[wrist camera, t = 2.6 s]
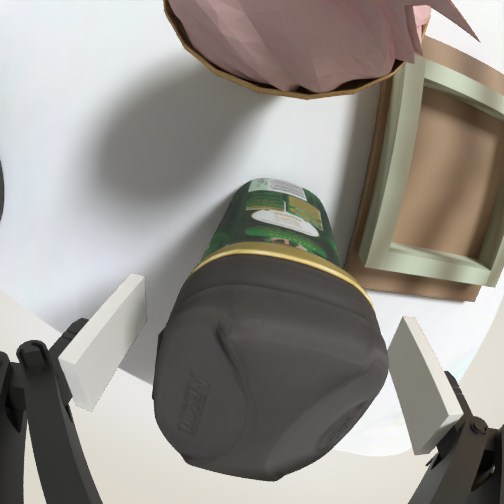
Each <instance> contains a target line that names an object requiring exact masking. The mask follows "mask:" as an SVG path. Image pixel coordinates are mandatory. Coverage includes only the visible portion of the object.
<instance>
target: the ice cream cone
mask: <svg viewBox="0 0 504 504" xmlns="http://www.w3.org/2000/svg"><path fill="white" fill-rule="evenodd" d="M163 1H164V12H165V14H166V16H167V18H168V20H169V22H170V23H171V25H172V27H173V29H174V30H175V32H176V34H177V36H178V38H179V39H180V41H181V43H182V45H183V47H184V48H185V49H186V50H187V51H188V52H190V53H191V54H192V55H193V56H194V57H196V58H197V59H198V60H199V61H200V62H202V63H203V64H204V65H205V66H206V67H208V68H209V69H210V70H211V71H212V72H214V73H215V74H216V75H218V76H220V77H223V78H225V79H228V80H230V81H233V82H235V83H238V84H240V85H242V86H245V87H247V88H249V89H252V90H254V91H256V92H258V93H264V94H272V95H279V96H286V97H293V98H299V99H305V100H309V99H316V98H323V97H331V96H340V95H349V94H354V93H356V92H358V91H361V90H363V89H365V88H367V87H369V86H371V85H374V84H376V83H378V82H380V81H382V80H385V79H387V78H389V77H391V76H392V75H393V74H394V73H395V72H396V71H397V70H398V69H399V68H400V67H401V66H402V65H403V64H404V63H405V62H408V63H411V64H414V62H415V54H414V53H417V54H419V55H421V56H422V57H423V50H422V46H421V43H422V40H423V37H424V34H425V32H426V29H427V26H428V23H429V20H430V13H431V8H433V9H434V10H436V11H438V12H439V13H441V14H442V15H444V16H445V17H447V18H448V19H449V20H451V21H452V22H454V23H455V24H457V25H458V26H459V27H461V28H462V29H463V30H465V31H466V32H467V33H469V34H470V35H471V36H473V37H474V38H475V39H476V40H478V41H479V39H478V38H477V36H476V35H475V33H474V32H473V30H472V29H471V27H470V26H469V25H468V23H467V22H466V20H465V19H464V17H463V16H462V15H461V13H460V12H459V11H458V9H457V8H456V7H455V5H454V4H453V3H452V1H451V0H163ZM479 42H480V41H479Z"/></svg>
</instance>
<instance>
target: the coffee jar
mask: <svg viewBox="0 0 504 504" xmlns="http://www.w3.org/2000/svg"><path fill="white" fill-rule="evenodd" d="M388 367H389V360H388V354H387V349H386V344H385V341H384V339H383V337H382V335H381V332H380V328H379V325H378V322H377V319H376V315H375V311H374V308H373V304H372V302H371V300H370V298H369V296H368V295H367V293H366V292H365V290H364V289H363V288H362V286H361V285H360V284H359V283H358V282H357V281H356V280H355V279H354V278H353V277H352V276H351V275H349V274H348V273H347V272H346V271H344V270H343V268H342V265H341V262H340V259H339V255H338V252H337V249H336V245H335V242H334V238H333V234H332V230H331V227H330V223H329V220H328V217H327V214H326V211H325V209H324V206H323V205H322V203H321V201H320V200H319V199H318V198H317V197H316V196H315V195H314V194H313V193H311V192H310V191H308V190H306V189H304V188H302V187H299V186H297V185H294V184H292V183H289V182H285V181H281V180H276V179H269V178H260V179H254V180H251V181H249V182H247V183H246V184H244V185H243V186H242V187H241V188H240V189H239V190H238V191H237V193H236V194H235V196H234V197H233V199H232V201H231V203H230V205H229V207H228V209H227V211H226V213H225V215H224V217H223V219H222V221H221V223H220V224H219V227H218V229H217V230H216V232H215V234H214V236H213V238H212V240H211V242H210V244H209V246H208V248H207V250H206V251H205V253H204V255H203V257H202V259H201V261H200V263H199V264H198V265H197V266H196V267H195V268H194V270H193V271H192V272H191V274H190V275H189V277H188V278H187V280H186V281H185V283H184V285H183V286H182V288H181V290H180V293H179V295H178V297H177V300H176V302H175V305H174V307H173V310H172V312H171V315H170V317H169V320H168V322H167V324H166V327H165V328H164V329H163V330H162V331H161V333H160V334H159V335H158V346H157V356H156V364H155V375H154V383H153V392H152V399H153V400H154V412H155V418H156V421H157V424H158V426H159V428H160V430H161V432H162V433H163V435H164V436H165V438H166V439H167V441H168V442H169V443H170V444H171V445H172V446H173V447H174V448H175V450H177V452H179V453H180V454H181V456H182V457H183V459H184V460H185V462H186V463H188V464H190V465H192V466H196V467H199V468H202V469H206V470H210V471H213V472H218V473H222V474H226V475H231V476H236V477H242V478H248V479H255V480H263V481H277V480H279V479H280V478H282V477H283V476H284V475H287V474H290V473H292V472H295V471H297V470H300V469H301V468H304V467H306V466H308V465H310V464H312V463H313V462H315V461H317V460H318V459H320V458H321V457H323V456H324V455H325V454H326V453H328V452H329V451H330V450H331V449H332V448H333V447H334V446H335V445H336V444H337V443H338V442H339V441H340V440H341V439H342V438H343V437H344V436H345V435H346V434H347V433H348V432H349V431H350V430H351V429H352V428H353V427H354V425H355V424H356V423H357V422H358V421H359V419H360V418H361V417H362V416H363V414H364V413H365V412H366V410H367V409H368V407H369V406H370V405H371V403H372V402H373V400H374V399H375V397H376V396H377V395H378V394H379V392H380V390H381V389H382V387H383V385H384V383H385V380H386V378H387V375H388Z"/></svg>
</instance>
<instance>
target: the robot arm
mask: <svg viewBox="0 0 504 504" xmlns="http://www.w3.org/2000/svg"><path fill="white" fill-rule="evenodd" d="M3 201H4V183H3V173H2V167H1V162H0V219H1V215H2V210H3ZM146 321H147V316H146V298H145V276H141V275H136V274H130V275H129V276H128V277H127V278H126V279H125V281H124V282H123V283H122V284H121V285H120V286H119V287H118V288H117V289H116V290H115V292H114V293H113V294H112V295H111V296H110V297H109V298H108V299H107V300H106V302H105V303H104V304H103V305H102V306H101V307H100V308H99V310H98V311H97V312H96V313H95V314H94V315H93V316H92V318H91V319H90V320H88V319H84V318H81V319H79V320H77V321H75V322H74V323H72V324H71V325H70V327H69V328H68V329H67V330H66V332H64V333H63V334H62V336H61V337H60V338H59V339H58V340H57V341H56V342H55V344H54V345H53V346H52V347H51V348H50V349H49V350H48V349H47V347H46V345H45V344H44V343H43V342H42V341H38V340H30V341H27V342H24V343H23V344H21V345H20V346H19V348H18V349H17V352H16V355H17V357H18V359H19V362H20V363H15V362H10V360H9V358H8V356H7V354H6V353H4V352H1V351H0V504H24V501H23V500H24V499H23V475H24V452H25V439H26V428H27V419H28V424H29V431H30V437H31V442H32V448H33V452H34V457H35V461H36V466H37V470H38V474H39V478H40V482H41V486H42V490H43V492H44V496H45V500H46V503H47V504H103V503H102V501H101V498H100V496H99V493H98V491H97V489H96V486H95V484H94V481H93V479H92V476H91V474H90V471H89V468H88V465H87V462H86V460H85V457H84V454H83V451H82V448H81V445H80V441H79V438H78V435H77V431H76V428H75V424H74V421H73V417H72V413H71V410H70V406H69V404H68V403H69V401H70V400H71V398H72V397H73V399H74V402H75V404H76V406H78V407H81V408H83V409H86V410H88V411H91V412H92V410H93V409H94V407H95V405H96V403H97V402H98V400H99V398H100V397H101V395H102V393H103V391H104V390H105V388H106V386H107V385H108V383H109V381H110V380H111V378H112V376H113V374H114V373H115V371H116V369H117V368H118V366H119V365H120V363H121V361H122V360H123V358H124V356H125V355H126V353H127V352H128V350H129V348H130V347H131V345H132V344H133V342H134V340H135V339H136V337H137V336H138V334H139V332H140V331H141V329H142V328H143V326H144V325H145V323H146ZM387 354H388V360H389V367H388V368H389V371H390V374H391V377H392V380H393V383H394V386H395V389H396V392H397V396H398V399H399V402H400V405H401V409H402V412H403V415H404V419H405V422H406V425H407V429H408V432H409V436H410V440H411V443H412V447H413V451H414V454H415V455H421V454H429V453H430V452H431V451H432V450H433V449H434V448H435V447H436V446H437V449H438V453H437V454H436V455H435V456H434V457H433V458H432V459H431V460H430V461H429V462H428V463H427V464H426V466H428V465H429V464H430V463H431V464H430V466H429V468H428V470H427V471H426V473H425V475H424V477H423V479H422V481H421V483H420V484H419V486H418V488H417V489H416V491H415V493H414V495H413V496H412V498H411V499H410V501H409V503H408V504H504V424H503V426H502V427H501V428H500V429H499V430H498V429H492V428H488V426H487V424H486V423H485V421H484V420H482V419H481V418H479V417H476V416H473V415H472V413H471V410H470V408H469V406H468V404H467V402H466V400H465V398H464V396H463V394H462V391H461V389H460V388H459V385H458V383H457V381H456V379H455V378H454V377H453V376H452V375H451V374H450V373H449V372H448V371H443V369H442V367H441V365H440V363H439V361H438V359H437V357H436V355H435V353H434V351H433V349H432V347H431V346H430V344H429V342H428V340H427V338H426V336H425V334H424V333H423V331H422V329H421V327H420V325H419V324H418V322H417V320H416V318H415V317H406V316H403V317H402V319H401V322H400V324H399V326H398V328H397V331H396V333H395V335H394V337H393V340H392V342H391V344H390V346H389V348H388V350H387ZM494 467H495V468H494ZM493 468H494V472H493Z"/></svg>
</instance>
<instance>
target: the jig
mask: <svg viewBox="0 0 504 504" xmlns="http://www.w3.org/2000/svg"><path fill="white" fill-rule="evenodd" d="M421 46H422V50H423V57H422V56H421V55H419V54H417V53H414V54H415V62H414V64H411V63H408V62H405V63H404V64H403V65H402V66H401V67H400V68H399V69H398V70H397V71H396V72H395V73H394V74H393V75H392V76H391V77H389V78H387V79H385V80H382V84H381V92H380V99H379V106H378V113H377V119H376V125H375V131H374V137H373V143H372V148H371V154H370V159H369V164H368V169H367V174H366V179H365V184H364V188H363V193H362V198H361V202H360V206H359V211H358V215H357V219H356V223H355V227H354V232H353V236H352V240H351V243H350V247H349V251H348V255H347V259H346V262H345V266H344V271H346V272H347V273H348V274H349V275H351V276H352V277H353V278H354V279H355V280H356V281H357V282H358V283H359V284H360V285H361V286H362V288H368V289H375V290H383V291H390V292H398V293H406V294H413V295H421V296H429V297H437V298H445V299H453V300H462V301H470V302H475V300H476V297H477V295H478V293H479V291H480V288H481V286H488V287H495V286H496V284H497V282H498V279H499V277H500V274H501V272H502V269H503V267H504V75H503V74H502V73H500V72H498V71H497V70H495V69H493V68H492V67H490V66H488V65H486V64H485V63H483V62H481V61H479V60H477V59H475V58H473V57H471V56H469V55H467V54H465V53H463V52H461V51H459V50H457V49H455V48H453V47H451V46H449V45H447V44H444V43H442V42H440V41H437V40H435V39H433V38H430V37H428V36H425V35H424V37H423V40H422V43H421Z"/></svg>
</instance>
